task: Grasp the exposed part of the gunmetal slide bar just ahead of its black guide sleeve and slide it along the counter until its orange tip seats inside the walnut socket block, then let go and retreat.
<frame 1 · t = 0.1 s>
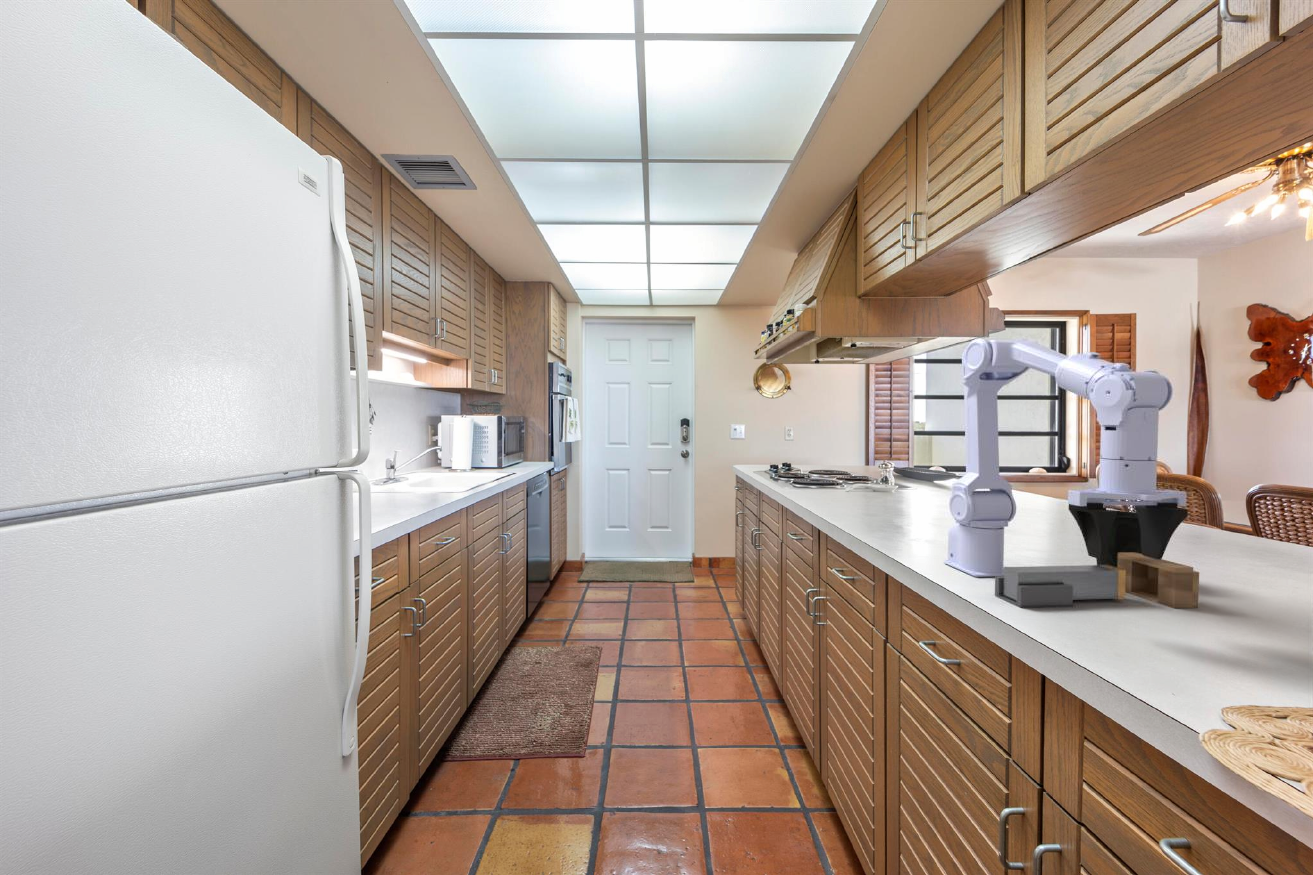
hand: (1124, 557, 69), 10 cm above the worktop, fingers open, 7 cm apart
cup: (1117, 579, 92), on the worktop
sleeve: (1032, 600, 81), on the worktop
socket: (1155, 597, 82), on the worktop
bar: (1063, 582, 81), point 3 cm above the worktop, slide at 0.0 cm
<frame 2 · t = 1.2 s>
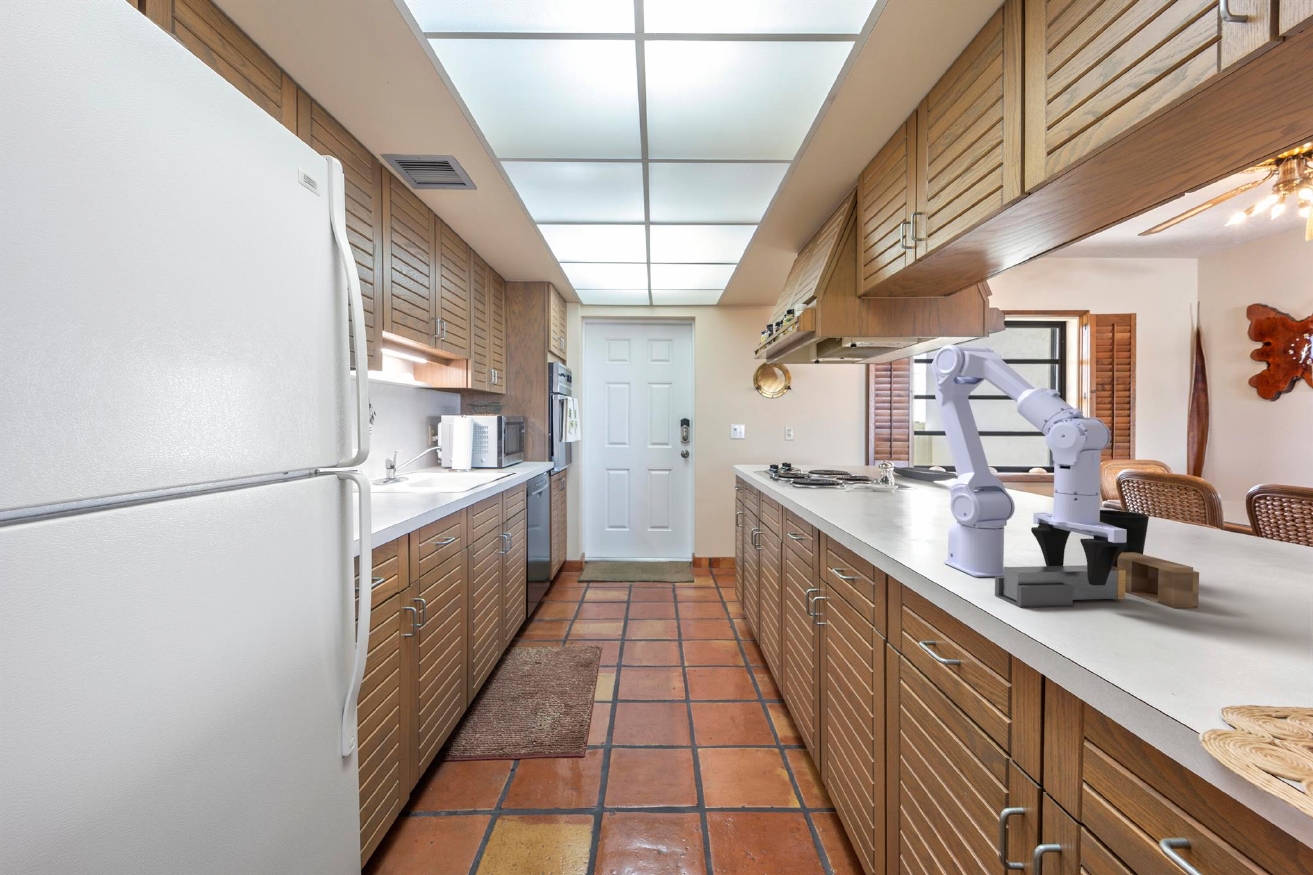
hand: (1074, 577, 81), 4 cm above the worktop, fingers open, 7 cm apart
nothing on the worktop moved.
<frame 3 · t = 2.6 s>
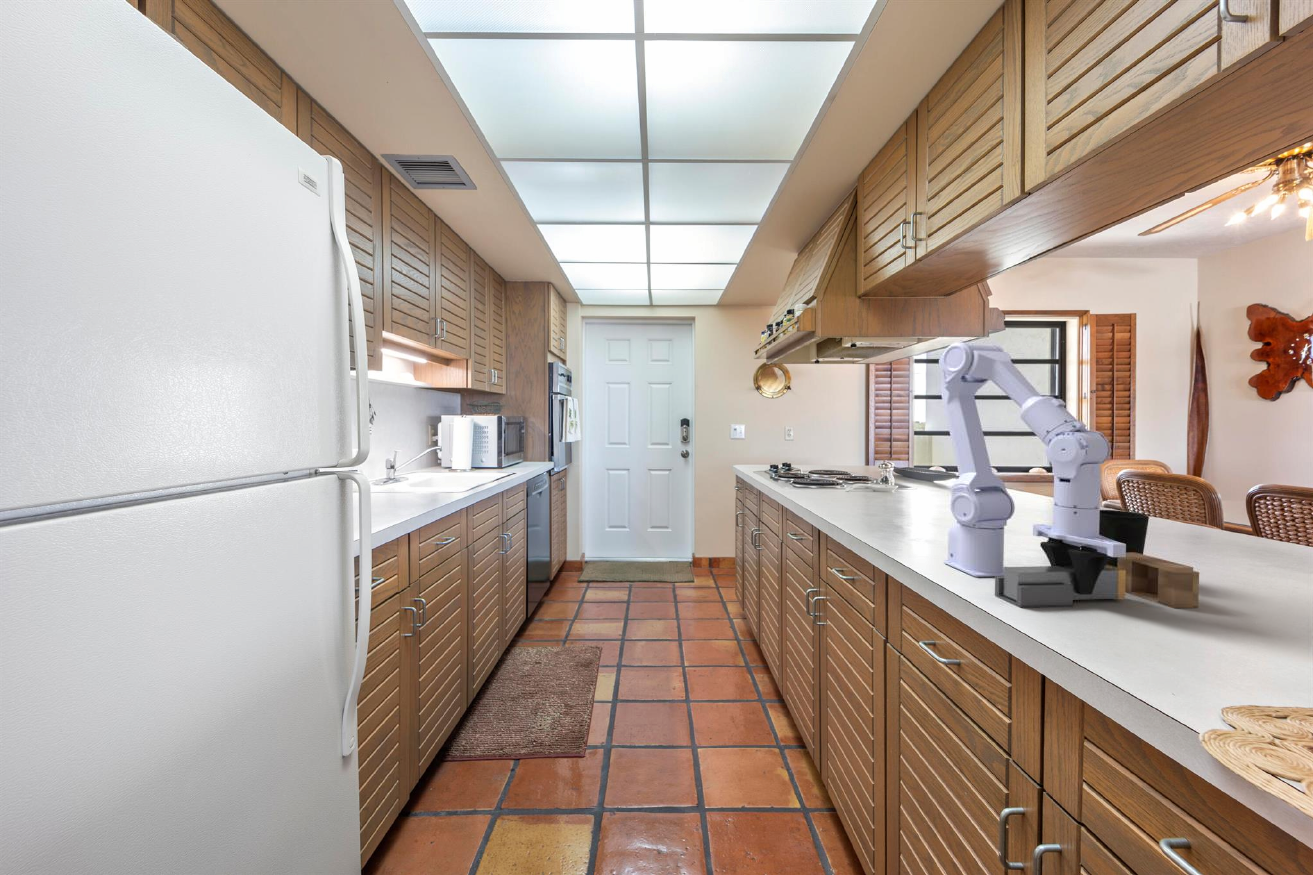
hand: (1073, 589, 81), 2 cm above the worktop, fingers closed on bar, 3 cm apart
bar: (1063, 582, 81), point 3 cm above the worktop, slide at 0.0 cm, touching gripper
everything else where it was.
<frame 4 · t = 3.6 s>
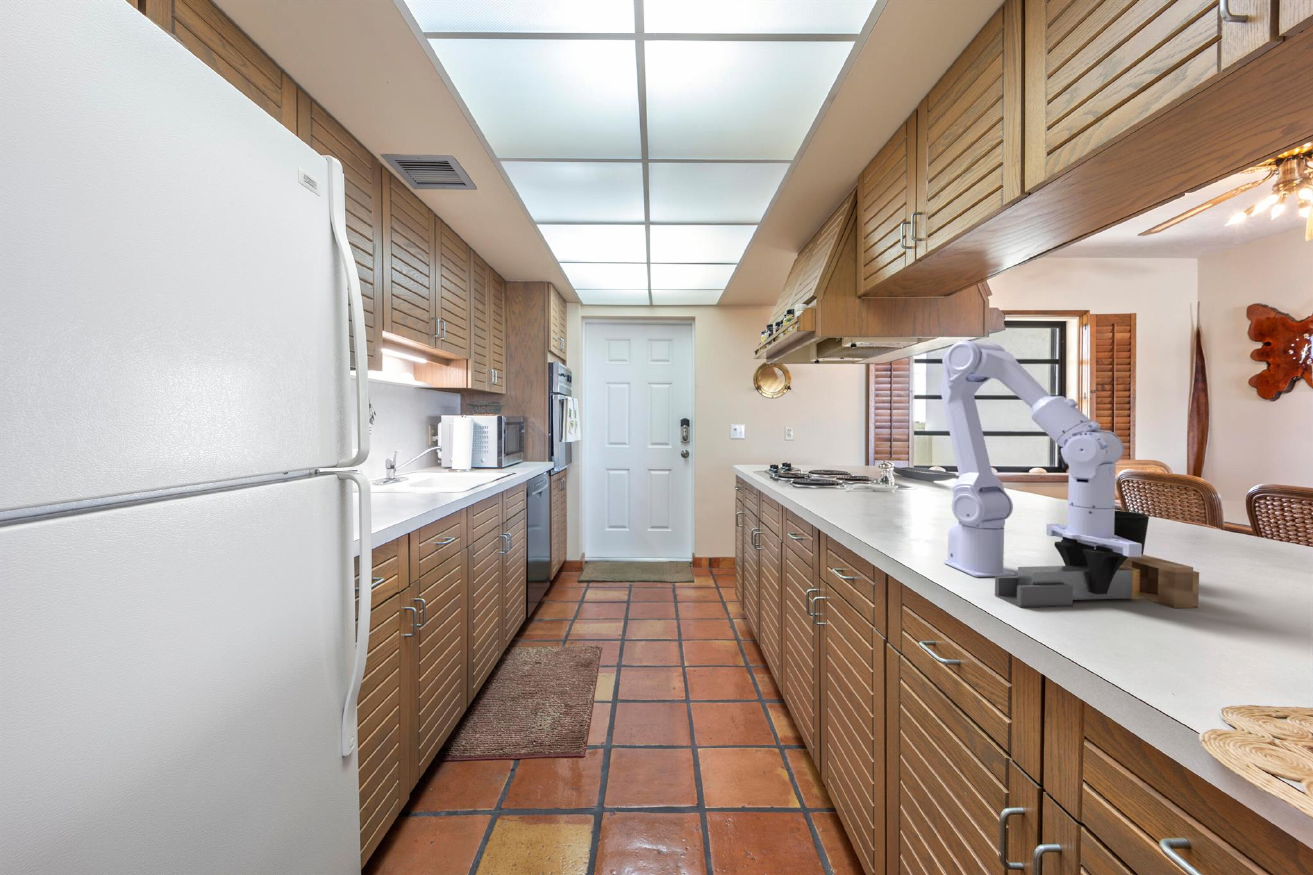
hand: (1088, 589, 81), 2 cm above the worktop, fingers closed on bar, 3 cm apart
bar: (1077, 582, 81), point 3 cm above the worktop, slide at 2.4 cm, touching gripper
everything else where it was.
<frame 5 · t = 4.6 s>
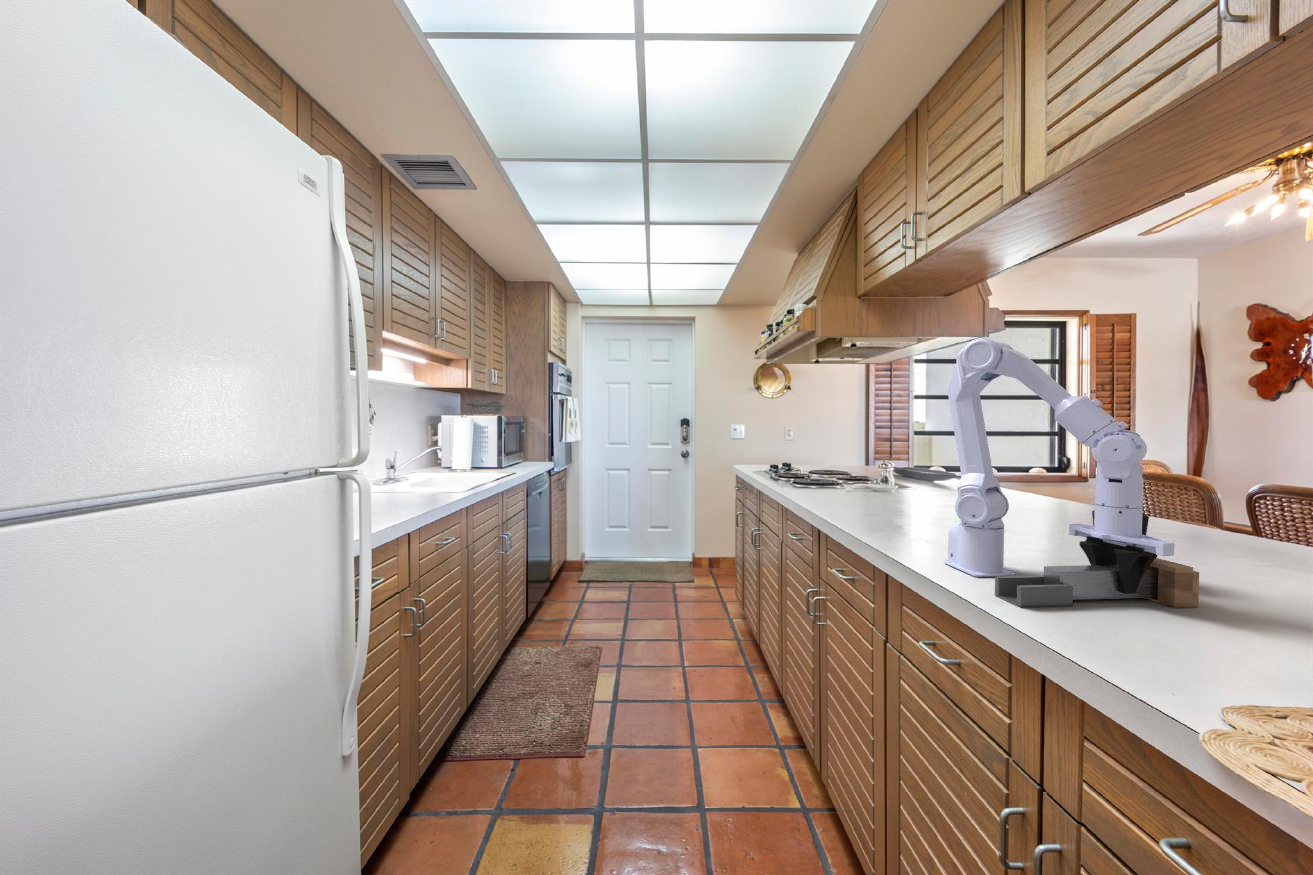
hand: (1115, 588, 82), 2 cm above the worktop, fingers closed on bar, 3 cm apart
bar: (1103, 581, 81), point 3 cm above the worktop, slide at 6.9 cm, touching gripper
everything else where it was.
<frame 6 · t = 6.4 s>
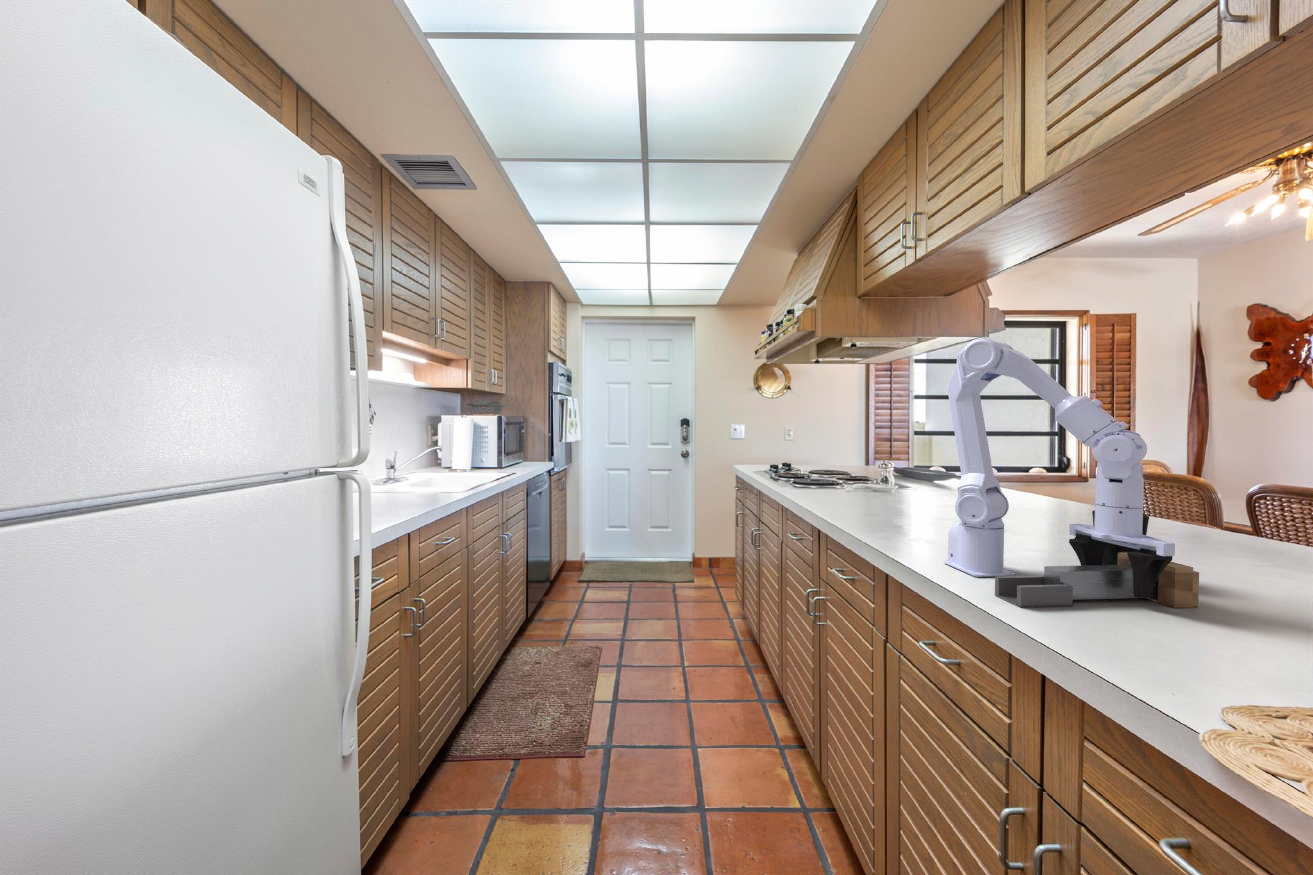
hand: (1116, 588, 82), 2 cm above the worktop, fingers open, 7 cm apart
bar: (1104, 581, 81), point 3 cm above the worktop, slide at 7.0 cm
everything else where it was.
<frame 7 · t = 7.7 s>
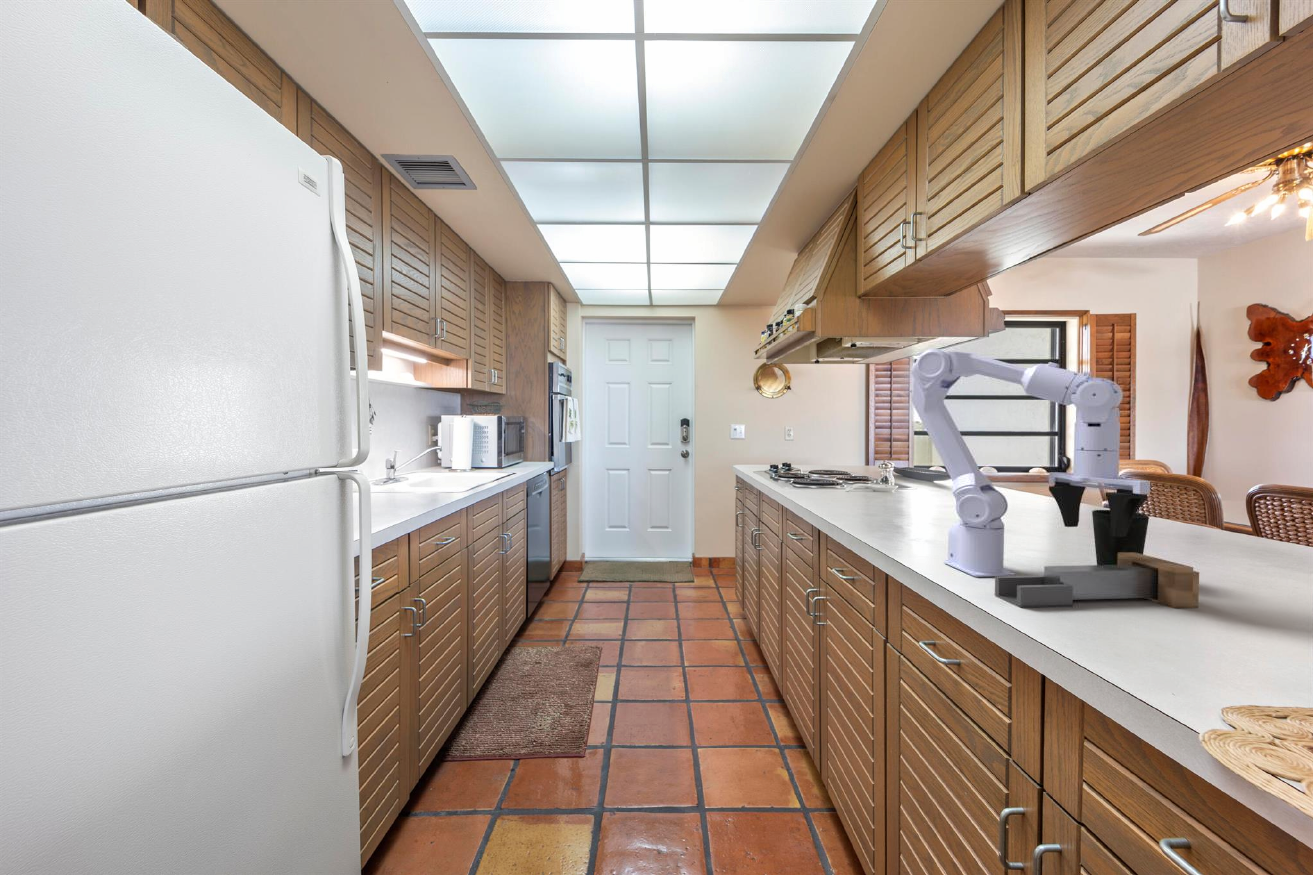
hand: (1093, 531, 84), 10 cm above the worktop, fingers open, 7 cm apart
nothing on the worktop moved.
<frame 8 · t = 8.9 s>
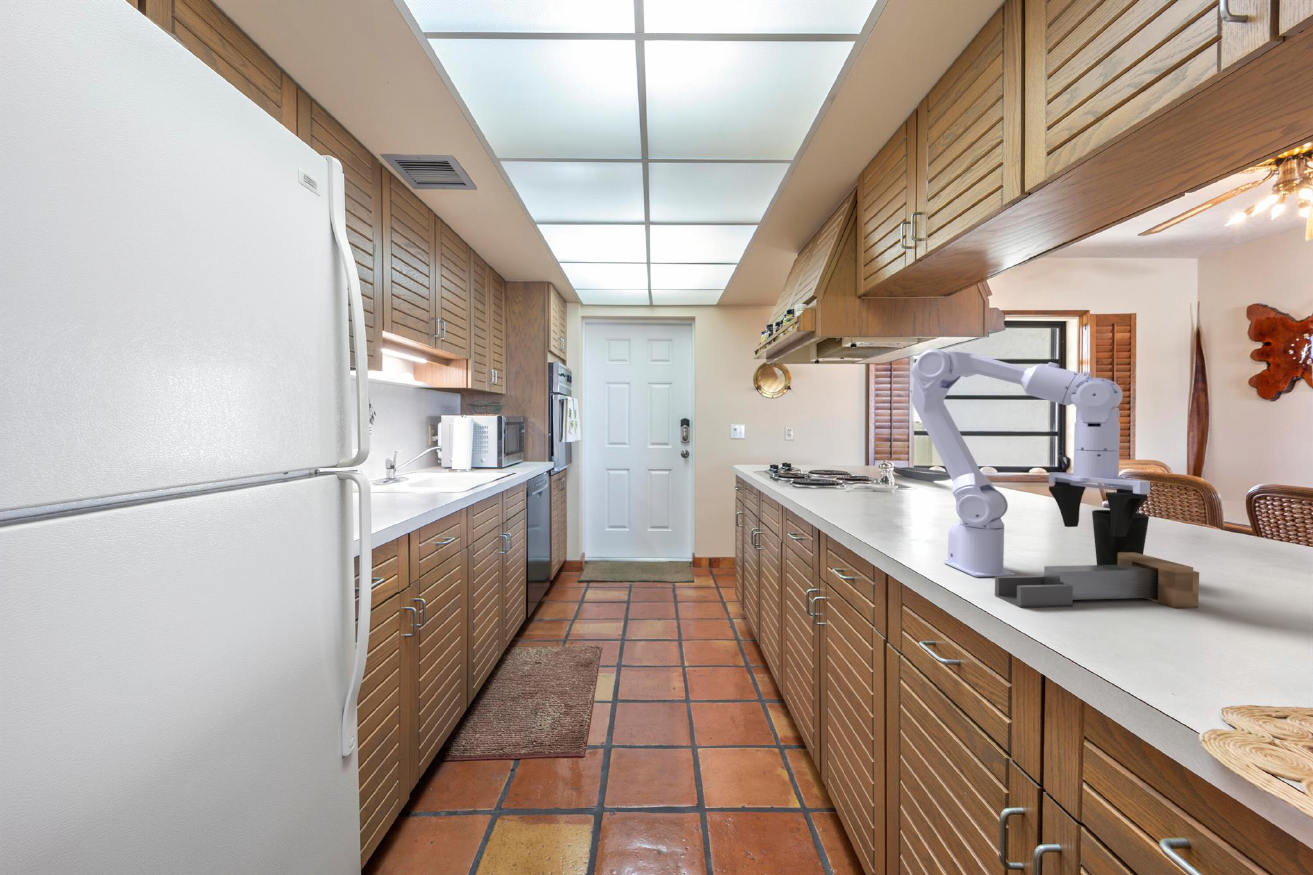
hand: (1093, 531, 84), 10 cm above the worktop, fingers open, 7 cm apart
nothing on the worktop moved.
at the end: bar slide at 7.0 cm; the gripper is holding nothing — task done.
